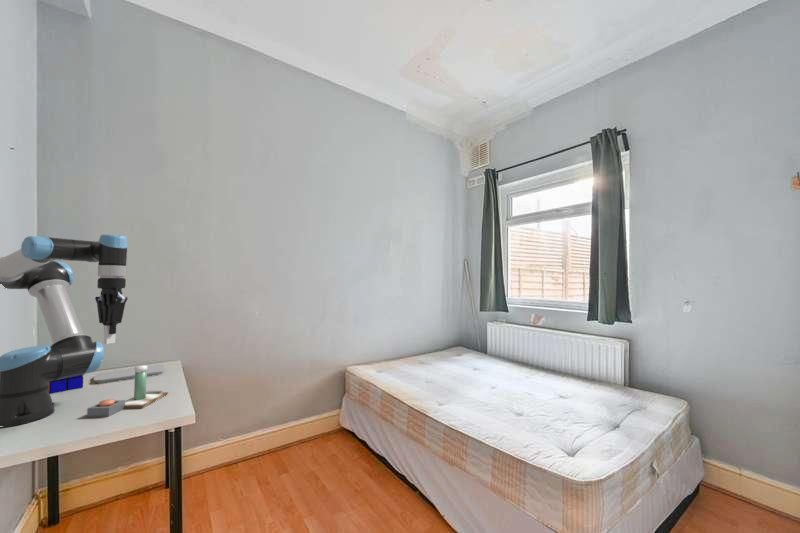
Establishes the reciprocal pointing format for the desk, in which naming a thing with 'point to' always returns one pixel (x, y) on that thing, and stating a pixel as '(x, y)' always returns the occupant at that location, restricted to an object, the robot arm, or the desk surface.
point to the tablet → (125, 374)
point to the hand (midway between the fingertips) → (109, 343)
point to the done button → (106, 403)
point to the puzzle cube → (65, 384)
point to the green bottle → (140, 382)
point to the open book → (150, 398)
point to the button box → (105, 409)
